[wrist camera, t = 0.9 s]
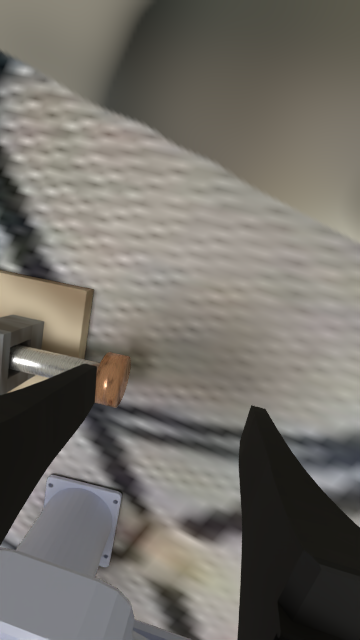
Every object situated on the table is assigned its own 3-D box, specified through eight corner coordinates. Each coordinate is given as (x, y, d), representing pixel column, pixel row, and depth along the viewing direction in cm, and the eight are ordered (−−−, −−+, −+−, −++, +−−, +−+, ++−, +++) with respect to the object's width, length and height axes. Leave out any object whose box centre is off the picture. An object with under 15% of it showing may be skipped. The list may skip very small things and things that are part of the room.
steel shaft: (126, 393, 25) (110, 417, 21) (-66, 349, 26) (-116, 363, 22) (133, 350, 24) (118, 366, 20) (-65, 306, 25) (-116, 313, 21)
